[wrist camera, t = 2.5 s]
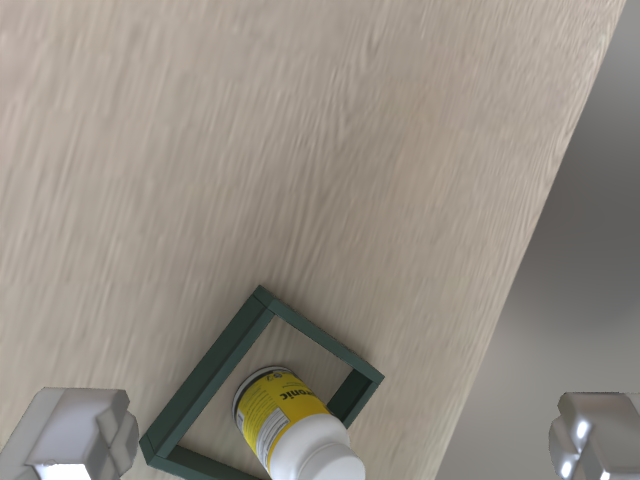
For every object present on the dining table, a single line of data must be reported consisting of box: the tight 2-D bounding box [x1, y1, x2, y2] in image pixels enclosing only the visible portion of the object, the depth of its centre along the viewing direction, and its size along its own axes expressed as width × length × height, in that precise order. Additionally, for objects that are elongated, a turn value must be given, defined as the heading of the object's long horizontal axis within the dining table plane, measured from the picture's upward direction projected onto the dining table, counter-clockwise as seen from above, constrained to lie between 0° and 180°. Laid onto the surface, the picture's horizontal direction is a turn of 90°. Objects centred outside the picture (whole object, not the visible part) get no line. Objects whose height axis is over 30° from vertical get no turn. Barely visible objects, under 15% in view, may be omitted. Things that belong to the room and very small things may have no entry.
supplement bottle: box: [232, 367, 366, 480], centre depth 34 cm, size 5×5×10 cm
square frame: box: [139, 285, 385, 480], centre depth 37 cm, size 13×13×2 cm
